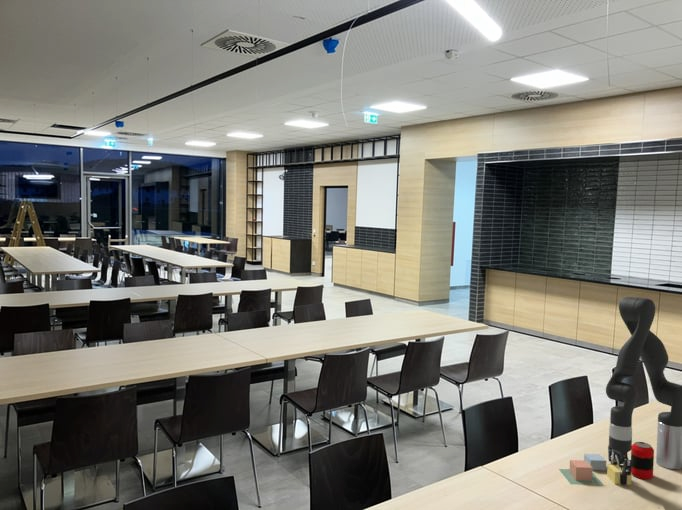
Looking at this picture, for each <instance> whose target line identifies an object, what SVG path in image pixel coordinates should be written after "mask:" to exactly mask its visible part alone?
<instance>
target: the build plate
mask: <svg viewBox="0 0 682 510" xmlns="http://www.w3.org/2000/svg"><path fill="white" fill-rule="evenodd" d="M558 470H559V472H560V473H561V474H562V475H563V477H564V478H565V479H566V480H567V481H568V482H569V484H570V485H584V486H585V485H587V486H588V485H589V486H591V485H592V486H605V484H604V483H603V482H602V481H601V480H600V479H599V478H598V477H597V476H596V475H595V473H594V472H593V471H592V481H581V480H575V479H574V478H573V476H572V475H571V474H570V468H569V469H567V468H558Z"/></svg>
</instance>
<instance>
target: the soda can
mask: <svg viewBox="0 0 682 510" xmlns="http://www.w3.org/2000/svg"><path fill="white" fill-rule="evenodd" d="M654 458H655V449H654V448H653V447H652V445H651V444H649V443H647V442H644V441H635V442H633V443H632V449H631V451H630V460H632V470H631V472H632V477H634V478H637V479H640V480H651V479H653V477H654V461H655V459H654Z"/></svg>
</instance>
